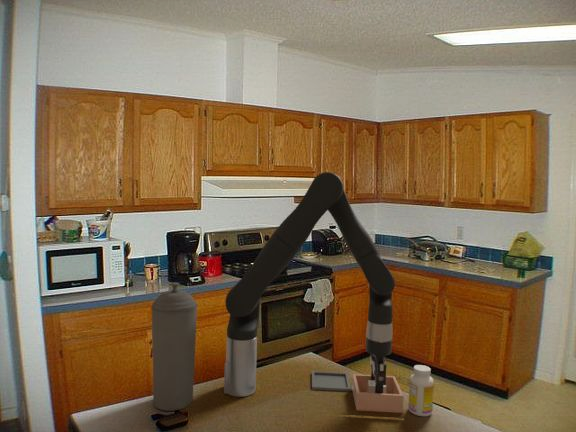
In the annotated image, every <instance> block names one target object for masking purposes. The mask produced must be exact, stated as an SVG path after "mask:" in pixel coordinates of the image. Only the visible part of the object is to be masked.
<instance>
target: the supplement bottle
mask: <svg viewBox="0 0 576 432" xmlns="http://www.w3.org/2000/svg"><path fill="white" fill-rule="evenodd" d="M431 371H432V369H431V368H430V367H429V366H428V365H423V364H415V365H414V366H413V374H411V375H410V377H409V386H408V387H409V388H408V410H409V412H410V413H412V414H413V415H415V416H417V417H418V416H419V417H429V416H431V415H432V414H433V406H434V405H433V404H434V386H435V385H434V383H435V382H434V378H433V377H432V376H431V373H432V372H431Z"/></svg>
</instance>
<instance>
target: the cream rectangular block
mask: <svg viewBox="0 0 576 432" xmlns="http://www.w3.org/2000/svg"><path fill="white" fill-rule="evenodd" d="M367 393H375V381H374V380H368V382H367ZM383 394H386V385H383Z"/></svg>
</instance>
